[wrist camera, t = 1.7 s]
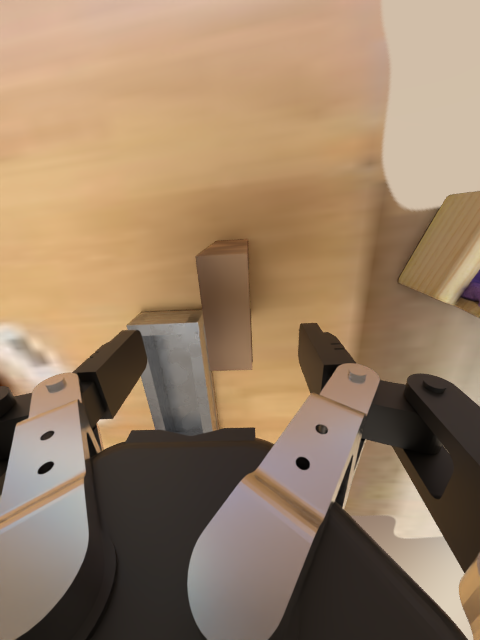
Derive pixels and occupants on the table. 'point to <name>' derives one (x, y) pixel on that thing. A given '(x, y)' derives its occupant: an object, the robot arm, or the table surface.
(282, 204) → the table surface
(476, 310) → the toy sofa
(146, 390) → the tray
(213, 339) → the door panel
